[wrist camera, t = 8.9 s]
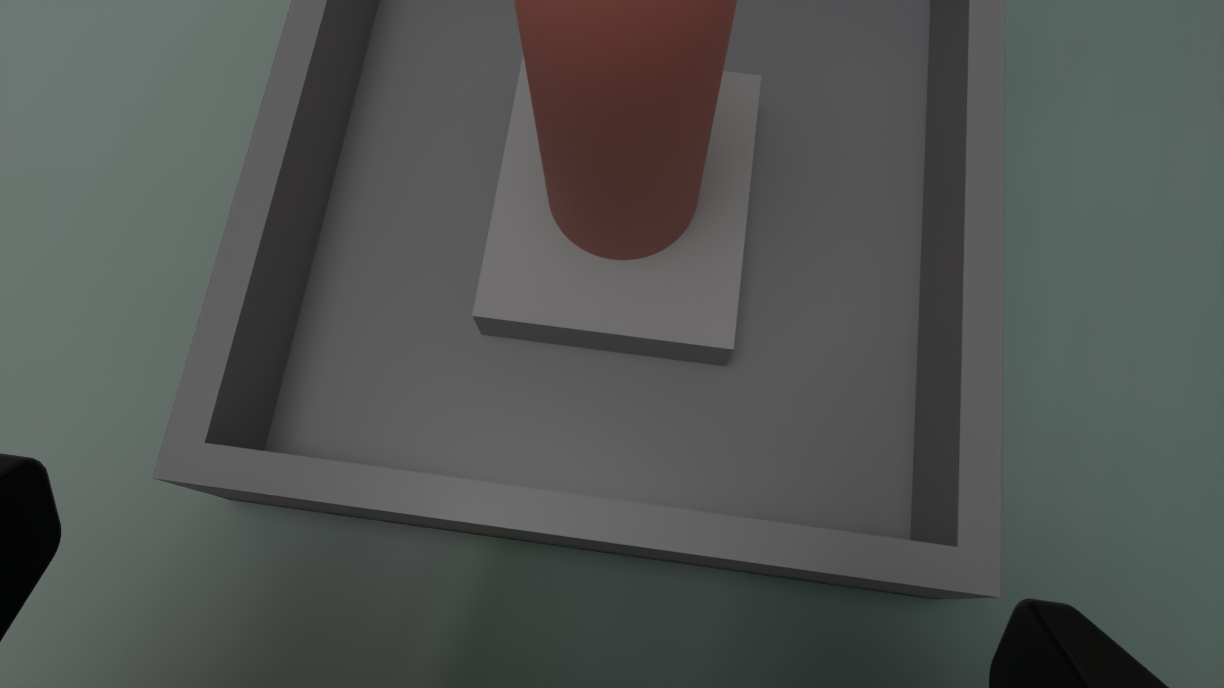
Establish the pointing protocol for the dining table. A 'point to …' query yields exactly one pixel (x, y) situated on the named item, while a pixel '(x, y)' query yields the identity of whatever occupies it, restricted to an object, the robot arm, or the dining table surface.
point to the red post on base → (623, 181)
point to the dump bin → (610, 381)
